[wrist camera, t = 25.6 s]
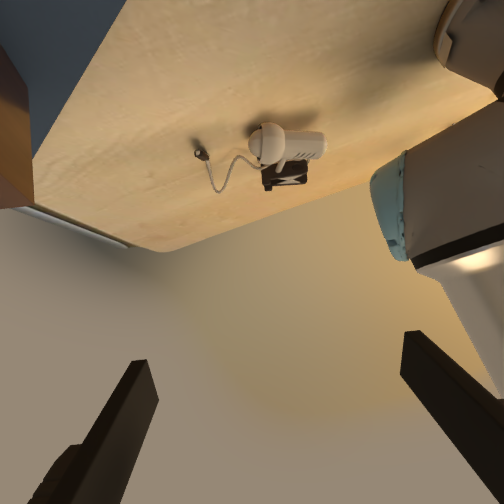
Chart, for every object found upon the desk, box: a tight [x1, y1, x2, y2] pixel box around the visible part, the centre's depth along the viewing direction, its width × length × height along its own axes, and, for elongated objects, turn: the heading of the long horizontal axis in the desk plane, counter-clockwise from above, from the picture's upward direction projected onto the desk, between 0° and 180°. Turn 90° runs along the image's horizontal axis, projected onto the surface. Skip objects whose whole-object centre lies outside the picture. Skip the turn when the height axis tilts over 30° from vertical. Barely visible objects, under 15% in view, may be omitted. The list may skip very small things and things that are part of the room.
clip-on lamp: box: [194, 122, 327, 194], centre depth 35 cm, size 12×6×18 cm
